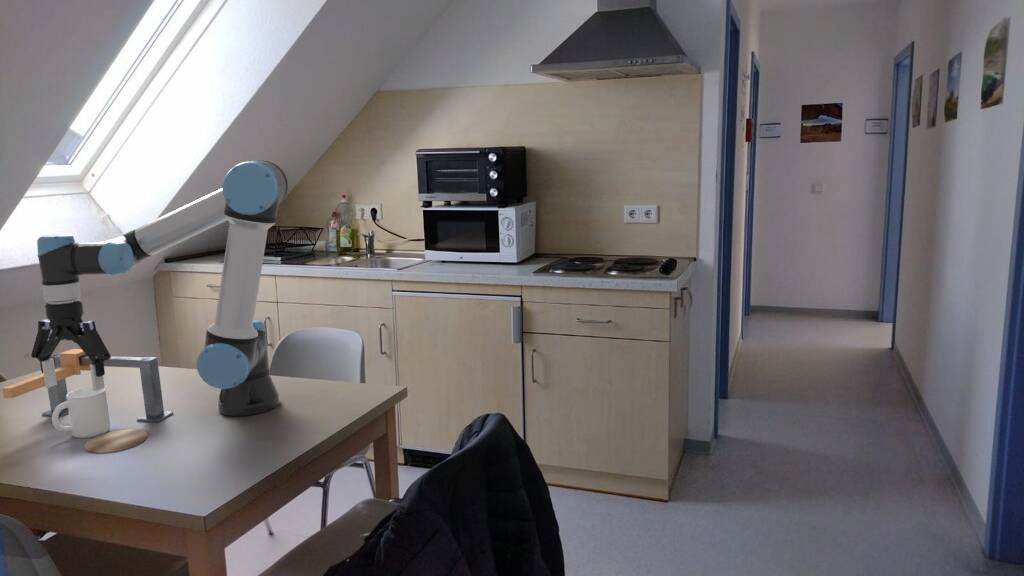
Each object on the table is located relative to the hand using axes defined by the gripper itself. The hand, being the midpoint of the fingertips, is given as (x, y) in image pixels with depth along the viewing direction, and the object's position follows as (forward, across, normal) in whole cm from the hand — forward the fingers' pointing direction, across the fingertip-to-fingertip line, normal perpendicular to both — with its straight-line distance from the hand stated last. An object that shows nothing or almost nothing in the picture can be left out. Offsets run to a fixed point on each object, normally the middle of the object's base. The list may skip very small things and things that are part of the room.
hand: (74, 387), depth 181 cm
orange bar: (+1, +12, -4) cm, 12 cm away
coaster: (+12, -12, +3) cm, 17 cm away
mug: (+12, 0, 0) cm, 12 cm away
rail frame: (+12, +4, -13) cm, 18 cm away
